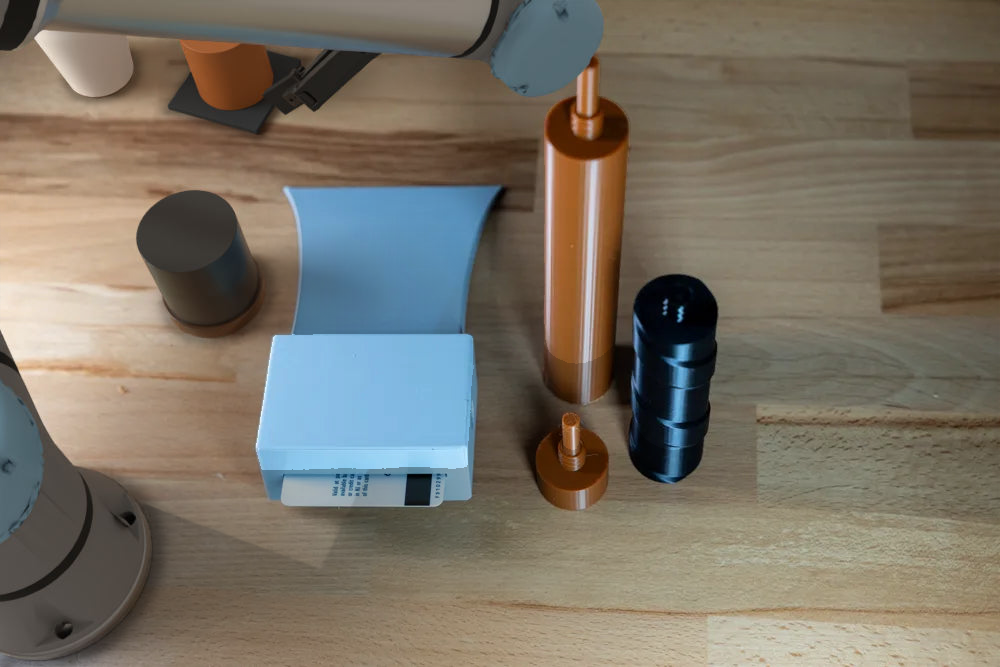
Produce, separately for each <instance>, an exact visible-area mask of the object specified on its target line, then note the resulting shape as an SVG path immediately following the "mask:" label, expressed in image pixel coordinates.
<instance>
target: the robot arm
mask: <svg viewBox="0 0 1000 667" xmlns="http://www.w3.org/2000/svg"><path fill="white" fill-rule="evenodd" d="M604 22H605V20H604V15H603V12H602V10H601V7H600V5H599V3H598V2H597V0H0V51H3V52H17V51H18V52H19V51H21V50H23V49H24V48H26V47H27V46H28V45H29V44H30V43H31V42H32V41H33V40H35V39H34V38H35V36H36V35H37V34H38V33H39V32H40V31H42V30H47V31H62V32H77V33H92V34H106V35H121V36H127V37H135V38H136V37H139V38H152V39H165V40H166V39H167V40H179V39H181V40H196V41H210V42H225V43H240V44H255V45H265V46H272V47H285V48H301V49H313V50H314V49H316V50H317V49H318V50H321V51H320V53H318V55H316V57H314V58H313V60H312V61H311V62H310V63H309V64H308V65H307V66H306V67H305V66H303V65H300V67H299V68H298V69H296V68H295V67H294V68H293V70H292V71H291V73H290V74H289V75H288V76H286V77H285V78H283V79H281V80H280V81H278V82H277V83H275V84H274V85H272V86H271V87H269V88H268V89H266V90H265V92H264V93H263V95H262V96H263V97H264V98H266V99H267V100H268V101H269V102H270V103H272V104H273V105H274V106H275V107H274V108H276V109H277V110H278V111H280V112H281V113H282V114H283V115H284V116H286V115H288V114H290V113H292V112H293V111H295V110H296V109H299V108H300V107H302V106H303V105H304V106H306V108H308V109H309V110H310V111H312V112H313V113H315V112H317V111H318V110H320V109H321V107H322V106H323V105H325V103H327V102H328V101H329V100H330V99H331V98H332V97H333V96H334V95H335V94H337V93H338V92H339V91H340V90H341V89H342V88H343V87H344V86H346V84H347V83H349V82H350V81H351V80H352V79H353V78H354V77H355V76H357V74H359V73H360V72H361V71H362V70H363V69H364V68H365V67H366V66H367V65H369V64H370V63H371V62H372V61H373V60H374V59H376V58H378V57H379V56H380V55H382V54H388V55H389V54H390V55H403V56H421V57H435V58H450V59H458V60H470V61H480V62H483V63H484V64H486V65H487V66H489V67H490V73H491V74H492V76H493V77H494V78H496V79H497V80H501V81H502V83H503V84H504V85H506V87H508V89H510V90H511V91H512V92H514V93H516V94H518V95H519V96H522V97H527V98H538V97H539V98H540V97H544V96H547V95H550V94H554V93H556V92H557V91H560V90H562V89H563V88H565V87H566V86H568V85H569V84H570V83H572V82H573V81H575V79H577V78H578V76H581V74H582V73H583V72H584V71H585V70H586V69H587V67H589V65H590V63H591V59H592V58H593V57H594V55H595V54H596V52H597V50H598V49H599V48H600V46H601V43H602V40H603V36H604V29H605V23H604ZM31 396H32V395H31V393H30V392H29V390H28V387H27V385H26V382H25V380H24V379H23V377H22V375H21V372H20V370H19V368H18V365H17V363H16V361H15V359H14V357H13V354H12V352H11V350H10V348H9V346H8V344H7V341H6V339H5V336H4V335H3V332H2V330H1V329H0V654H2V655H4V656H7V657H10V658H14V659H18V660H26V661H44V660H45V661H46V660H52V659H58V658H62V657H66V656H69V655H72V654H74V653H78V652H79V651H82V650H84V649H86V648H88V647H90V646H91V645H93V644H95V643H96V642H98V641H100V640H101V639H103V638H104V637H105V636H106V635H108V634H109V633H110V632H111V631H112V630H113V629H115V628H116V627H117V626H118V625H119V624H120V623H121V622H122V621H123V620H124V618H125V617H126V616H128V614H129V612H130V611H131V610H132V609H133V607H134V605H135V604H136V603H137V600H138V599H139V597H140V596H141V593H142V591H143V589H144V587H145V585H146V582H147V579H148V576H149V574H150V573H149V572H150V569H151V565H152V564H151V563H152V555H153V546H152V545H153V541H152V535H151V530H150V525H149V523H148V521H147V517H146V516H145V514H144V512H143V510H142V509H141V507H140V505H139V504H138V503H137V501H136V500H135V499H134V498H133V497H132V495H131V494H130V493H129V492H128V491H127V489H126V488H124V487H123V486H122V485H121V484H120V483H119V482H118V481H116V480H115V479H114V478H111V477H109V475H106V474H105V473H102V472H99V471H96V470H92V469H90V468H85V467H82V466H78V465H75V464H73V463H72V462H71V460H70V459H69V457H67V456H66V455H65V454H64V452H63V451H62V450H61V449H60V448H59V446H58V445H57V444H56V443H55V442H54V440H53V438H52V436H51V435H50V433H49V432H48V429H47V428H46V426H45V424H44V422H43V420H42V418H41V416H40V413H39V412H38V409H37V407H36V405H35V402H34V400H33V398H32V397H31Z"/></svg>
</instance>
